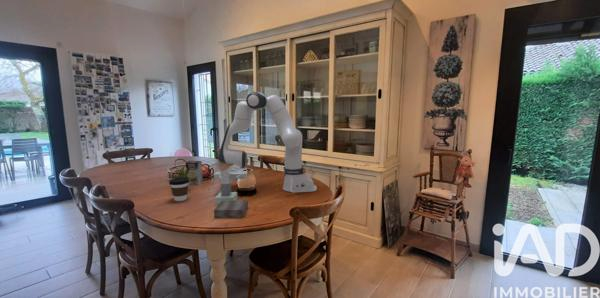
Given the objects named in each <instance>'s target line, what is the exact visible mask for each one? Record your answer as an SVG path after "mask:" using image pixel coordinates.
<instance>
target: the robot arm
mask: <svg viewBox="0 0 600 298" xmlns="http://www.w3.org/2000/svg"><path fill="white" fill-rule="evenodd" d="M264 109H266V111H267V112H268V113H269V115H270V118H271V119H272V121H273V122H274V125H275V126H276V128H277V131H278V133H279V135H280V138H281V141H282V143H283V144H284V146H285V148H284V150H285V151H284V168H283V175H284V181H283V186H282V190H283V191H286V192H289V193H292V194H296V193H310V192H316V191H317V190H318V188H317V185H316V184H315V183H314V180H313V178H312V177H311V176H309V175H308V174H307V173H306V172H307V171H306V169H305V167H303V163H302V162H303V160H302V157H303V155H302V154H303V134H302V132H301V130H299V129H297V128H296V126H295V123H294V120H293V118H292V116H291V114H290V113H289V111H288V110H287V109H288V108H287V107H286V105H285V103H284V102H283V101H282V99H281V98H280V97H279V96H278V95H276V94H272V95H268V96H267V95H266V94H264V93H262V92H261V91H260V92H259V91H252V92H250V93H248V95H247V96H246V99H245V100H242V101H239V102H238V103H237V104H236V107H235V110H234V117H233V120H232V123H231V124H228V125H227V128H226V130H225V133H224V135H223V140H222V142H221V146H220V150H219V151H218V155H217V159H218V161H219V162H220V163H222V164H231V165H230V166H229V167H227V169H226V170H230V174H231V181H237V180H246V179H248V178H247V174H249V173H248V169H247V167H246V165H247V163H248V154H247V153H246V151H245V150H241V149H233V148H229V145H230V142H231V139H232V136H234V135H235V134H240V133H244V132H246V131H248V130H249V129H250V127H251V125H252V119H253V113H254V111H259V110H264ZM243 170H246V171H243ZM220 171H221V170H219V171H216V172H215V173H214V174H213V179H214V180H220ZM242 171H243V172H242ZM220 181H221V180H220Z"/></svg>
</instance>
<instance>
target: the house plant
mask: <svg viewBox="0 0 600 298" xmlns="http://www.w3.org/2000/svg"><path fill="white" fill-rule="evenodd" d="M173 170H174V171H173V172H175V174H176V175H172V176H173V179H175V178H188V176H189V175H188V173H189V172H190V171H191V170H190V171H189V172H188V173H187V168H186V167H185V166H184V167H183V166H180V169H179V172H178V171H176V169H173ZM186 173H187V174H186ZM187 175H188V176H187ZM190 175H191V174H190ZM188 179H189V178H188ZM189 189H190V185H189V183H188V192H189Z"/></svg>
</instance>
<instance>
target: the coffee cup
mask: <svg viewBox="0 0 600 298" xmlns="http://www.w3.org/2000/svg"><path fill="white" fill-rule="evenodd" d="M188 183H189V179H188V178H187V177H186V178H180V177H179V178H178V177H177V178H176V177H175V178H172V179H170V180H169V183H168V184H169V185H170V188H171V194H172V196H173V200H174V201H175V202H183V201H186V200H187V198H188V192H189V191H188Z"/></svg>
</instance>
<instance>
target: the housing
mask: <svg viewBox="0 0 600 298" xmlns="http://www.w3.org/2000/svg"><path fill="white" fill-rule="evenodd" d="M219 171H220V192H221V196H230V195H231V192H232V180H231V174H230V170H227V169H222V170H219Z"/></svg>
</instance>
